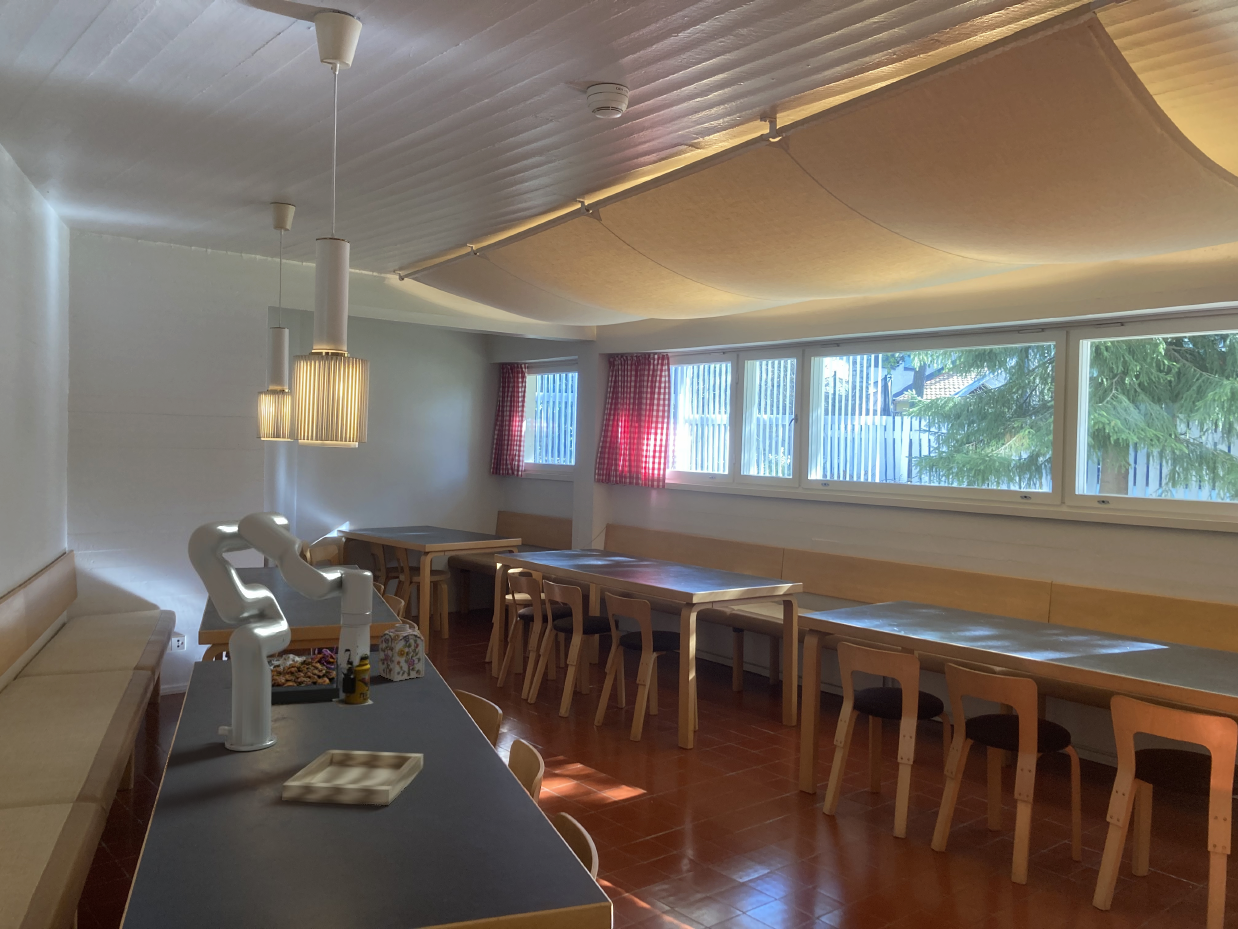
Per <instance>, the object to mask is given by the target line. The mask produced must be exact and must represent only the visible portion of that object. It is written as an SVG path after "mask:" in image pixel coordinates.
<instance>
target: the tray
mask: <svg viewBox="0 0 1238 929" xmlns="http://www.w3.org/2000/svg"><path fill="white" fill-rule="evenodd" d="M423 769H424V753H413V752H411V753H410V752H407V753H406V752H392V751H391V752H387V751H371V750H370V751H368V750H367V751H366V750H344V749H342V750H341V749H327V750H325V751H324V752H323V753H322V754H321V755H319V756H317V757H316V759H314V760H313V761H311V762H310V763H309V764H307V765H306V766H305V767H304V768H302V769H301V770H299V771H298V772H297V773H296V774H294V775H293V776H292V777H290V778H289V779H288V780H286V781H285V782H284V783H283V784H282V790H281V791H282V792H281V793H282V794H281V795H282V796H281V798H282V799H281V800H290V801H289V802H303V803H304V802H305V803H324V804H343V805H345V804H346V805H347V804H348V805H363V804H364V805H365V804H366V805H365V806H368V805H367V804H375V805H374V806H379V805H378V804H382V805H389V804H390V803H391V802H392V801H393V800H394V799H395V798H396V799H397V798H398V796H400V794H401V793H402V792H403V791H404V790H405V789H406V788H405V787H407V786H408V785H410V783H411V782H412V781H413V780H414V779H415V778H416V777H417V776H418V775H419V773H420V772H421V771H422V770H423ZM404 788H405V789H404ZM401 791H402V792H401ZM396 799H395V800H396ZM395 800H394V801H395ZM394 801H393V802H394ZM393 802H392V803H393ZM392 803H391V804H392ZM376 804H377V805H376ZM391 804H390V805H391ZM390 805H389V806H390Z"/></svg>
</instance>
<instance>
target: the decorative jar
mask: <svg viewBox="0 0 1238 929" xmlns="http://www.w3.org/2000/svg"><path fill="white" fill-rule="evenodd" d="M409 626H410V625H409V624H407V623H397V624H395V625H394V628H391V629H387V630H386V631H384V632H383V633H382V634H381V636H380V637H379V640H378V645H379V646H378V676H379V675H381V676H383V677H385V678H384V679H386V678H388V679H387V680H389V679H391V680H393V681H392V682H394V681H397V682H400V681H399V680H403V681H406V680H405V679H409V678H414V679H417V678H416V677H420V678H424V677H423V676H425V638H424V636H423V635H422V633H421V632H420V630H419V629H416V628H412V627H411V628H410V627H409ZM381 676H380V677H381ZM383 677H382V678H383ZM391 680H390V681H391ZM409 680H410V679H409Z"/></svg>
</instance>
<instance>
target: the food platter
mask: <svg viewBox="0 0 1238 929" xmlns="http://www.w3.org/2000/svg"><path fill="white" fill-rule="evenodd" d="M336 647H337V646H336V645H334V650H333V651H332V652H331V651H329V649H326V648H323V649H322V650H321V653H320V654H318V652H319V651H318V648H317V647H316V648H315V651H314V652H315V655H314V656H311V657H307V658H306V657H305V656H304V655H303V656H301V657H298V656H297V655H294V654H285V655H284V654H283V655H282V658H278V659H276V658H274V659H269V660H267V662H268V664H269V667H270V670H271V683H272V686H271V706H275V704H278V705H293V704H302V703H301V702H309V703H315V702H314V701H324V702H334V701H333V700H332V699H340V692H341V691H340V666H339V665H338V657H336V655H335V654H336ZM292 703H293V704H292Z"/></svg>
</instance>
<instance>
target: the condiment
mask: <svg viewBox="0 0 1238 929" xmlns="http://www.w3.org/2000/svg"><path fill="white" fill-rule="evenodd" d="M369 659H370V654H369V655H368V654H365V655H364V656H362V657H361V658H360V663H359V665H357V666H356V670H355V676H354V677H356V691H355V693H354V694H347V693H344V696H343V697H342V698H339V699H332V700H333V701H332V702H334V703H335V704H336V705H337V706H338V707H340V708H343V707H351V706H353V707H354V706H363V705H372V704H374V702H373V701H372V700H370V686H371V685H370V684H371V683H370V679H371V665H370V664H369V663H370V660H369ZM352 664H353V663H348V665H352ZM348 669H350V670H351V672H352V668H348Z"/></svg>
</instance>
